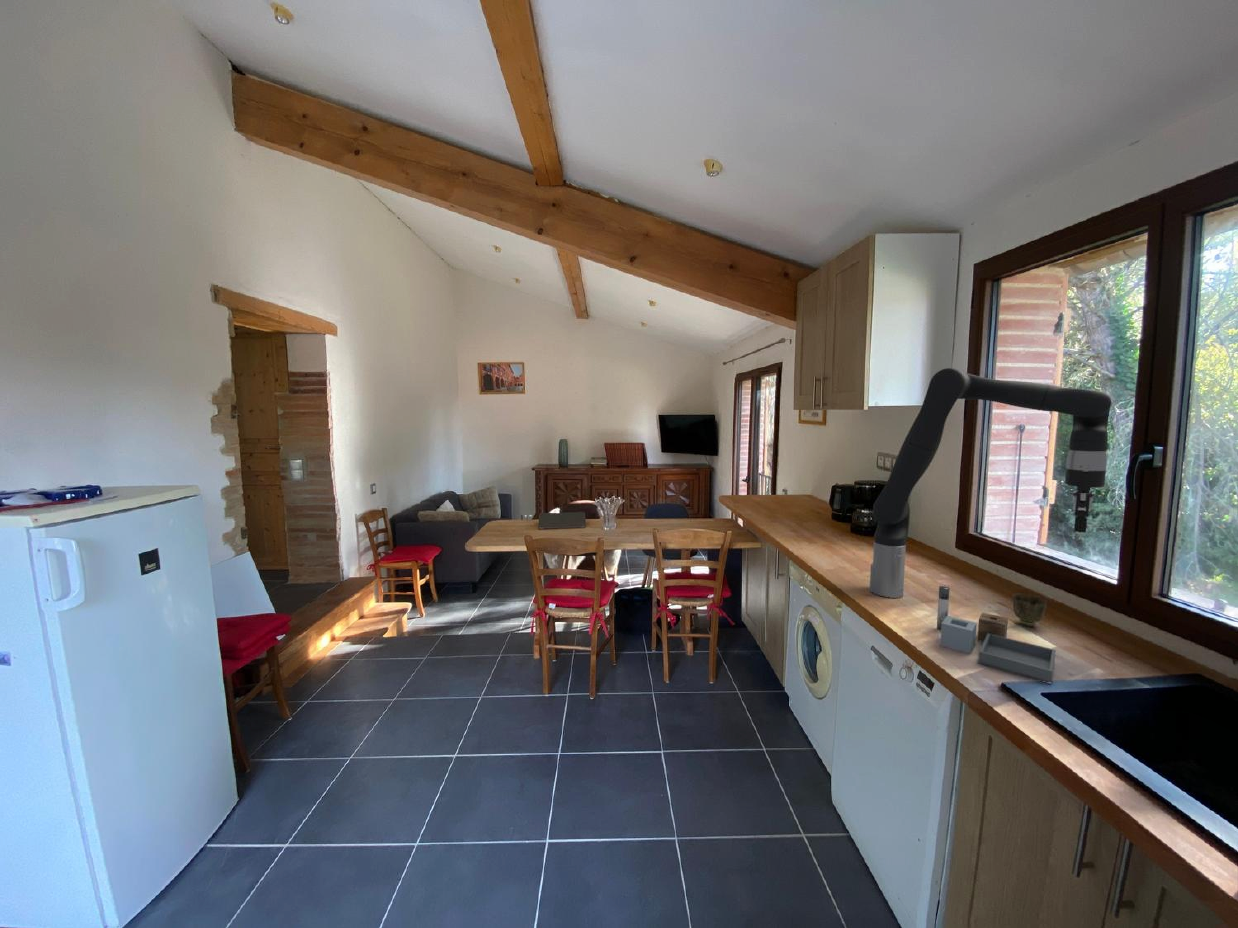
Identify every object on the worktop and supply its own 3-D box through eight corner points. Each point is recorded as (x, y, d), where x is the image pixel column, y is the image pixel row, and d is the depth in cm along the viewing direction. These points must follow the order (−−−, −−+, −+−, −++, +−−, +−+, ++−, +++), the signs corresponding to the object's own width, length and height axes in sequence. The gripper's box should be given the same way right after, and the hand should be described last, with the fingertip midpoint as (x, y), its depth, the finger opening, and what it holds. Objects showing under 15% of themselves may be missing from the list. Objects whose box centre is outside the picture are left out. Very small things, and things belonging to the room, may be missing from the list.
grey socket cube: (940, 645, 126) (941, 623, 126) (945, 636, 131) (946, 615, 130) (970, 653, 122) (972, 630, 121) (975, 644, 126) (976, 622, 126)
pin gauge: (935, 629, 136) (938, 587, 134) (937, 626, 137) (940, 585, 136) (945, 631, 134) (948, 589, 133) (947, 628, 136) (950, 587, 134)
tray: (978, 663, 117) (979, 651, 117) (986, 644, 127) (987, 633, 126) (1051, 684, 108) (1052, 671, 108) (1054, 661, 118) (1055, 649, 117)
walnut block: (977, 640, 129) (978, 618, 128) (980, 633, 133) (982, 612, 132) (1003, 647, 125) (1005, 624, 125) (1006, 639, 129) (1007, 618, 128)
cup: (1041, 622, 139) (1043, 595, 138) (1047, 633, 132) (1050, 604, 132) (1008, 617, 142) (1010, 591, 142) (1013, 627, 136) (1015, 599, 135)
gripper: (1066, 464, 134) (1061, 522, 136) (1065, 469, 124) (1059, 531, 126) (1105, 466, 129) (1099, 526, 131) (1107, 471, 119) (1100, 536, 120)
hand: (1079, 528), depth 128 cm, fingers open, 8 cm apart
